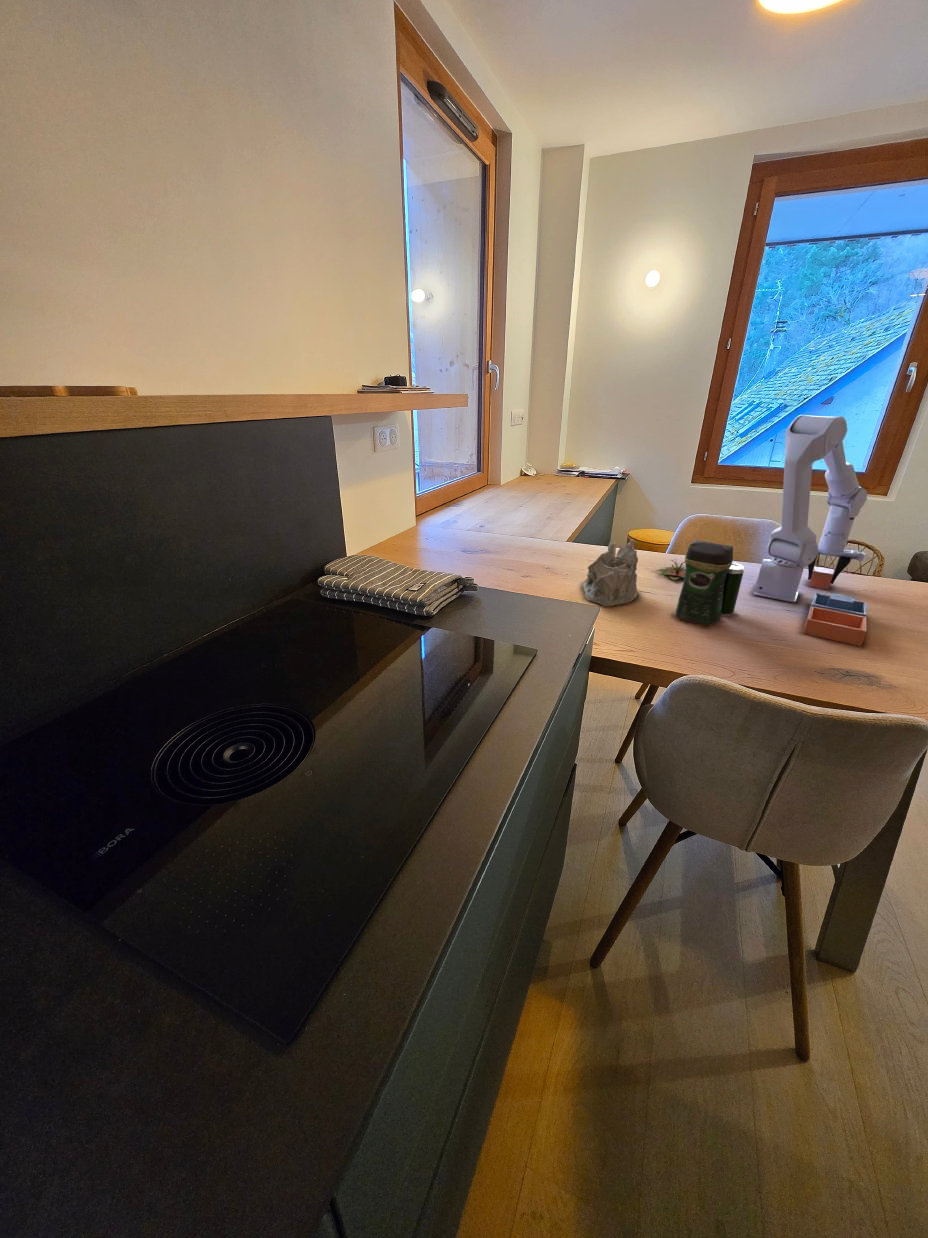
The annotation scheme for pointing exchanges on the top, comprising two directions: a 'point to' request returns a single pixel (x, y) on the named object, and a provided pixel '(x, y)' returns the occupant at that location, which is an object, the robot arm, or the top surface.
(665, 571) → the lily flower
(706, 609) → the coffee jar
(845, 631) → the terracotta bin
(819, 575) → the terracotta block
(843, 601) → the blue block
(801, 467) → the robot arm
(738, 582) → the beer can
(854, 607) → the blue bin
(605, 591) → the grey jagged hollow piece
